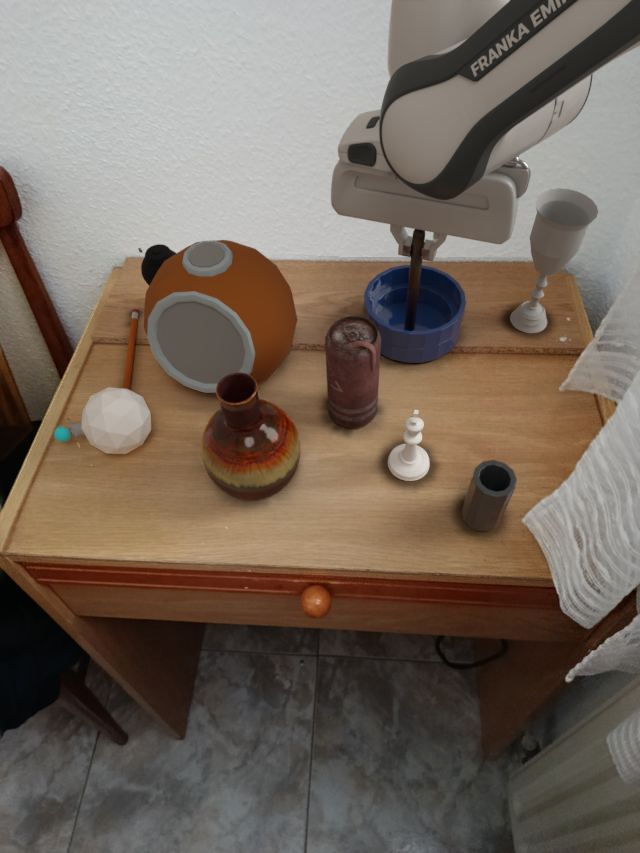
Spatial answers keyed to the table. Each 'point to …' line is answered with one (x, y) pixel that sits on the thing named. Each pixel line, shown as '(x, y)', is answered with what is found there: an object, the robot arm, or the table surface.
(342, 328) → the can
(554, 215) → the chalice
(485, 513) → the utensil pot
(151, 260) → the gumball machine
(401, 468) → the chess piece
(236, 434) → the vase
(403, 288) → the bowl
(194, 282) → the diving helmet
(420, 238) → the stick
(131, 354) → the pencil
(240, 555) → the table surface
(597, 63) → the robot arm
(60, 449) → the table surface
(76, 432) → the perfume bottle
